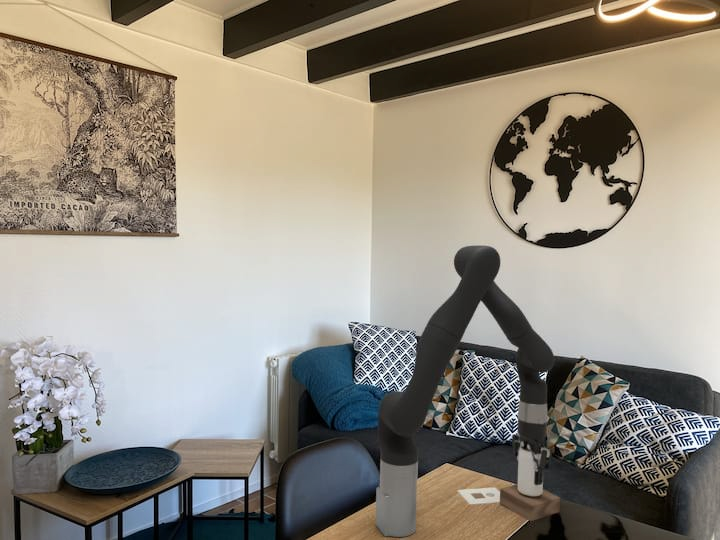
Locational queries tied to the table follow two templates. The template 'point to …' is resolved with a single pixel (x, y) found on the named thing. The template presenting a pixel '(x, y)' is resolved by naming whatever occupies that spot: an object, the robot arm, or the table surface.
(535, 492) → the can
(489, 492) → the page
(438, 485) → the table surface
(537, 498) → the base block
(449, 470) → the table surface
